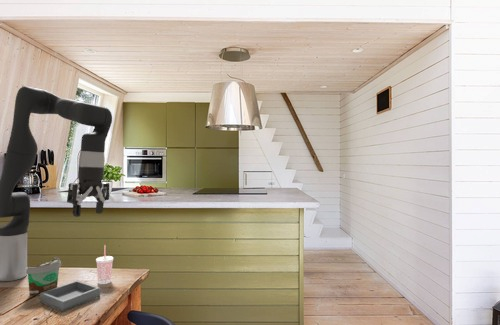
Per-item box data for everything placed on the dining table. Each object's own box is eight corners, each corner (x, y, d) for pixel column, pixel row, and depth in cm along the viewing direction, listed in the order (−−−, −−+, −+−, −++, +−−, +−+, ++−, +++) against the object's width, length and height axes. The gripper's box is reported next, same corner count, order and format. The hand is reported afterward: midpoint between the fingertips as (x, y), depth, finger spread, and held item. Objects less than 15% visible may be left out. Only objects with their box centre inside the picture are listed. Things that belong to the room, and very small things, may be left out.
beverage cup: (92, 284, 118) (93, 247, 118) (99, 278, 124) (100, 243, 124) (109, 284, 118) (110, 247, 118) (115, 278, 124) (116, 243, 124)
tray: (40, 302, 103) (40, 293, 103) (77, 288, 114) (77, 280, 114) (63, 311, 97) (63, 301, 97) (99, 296, 108) (99, 287, 108)
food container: (41, 299, 105) (41, 269, 105) (25, 297, 107) (26, 267, 107) (69, 284, 117) (69, 258, 117) (55, 283, 119) (55, 256, 119)
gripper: (100, 165, 112) (97, 211, 112) (63, 164, 99) (60, 216, 99) (116, 166, 109) (113, 213, 109) (81, 165, 96) (77, 219, 96)
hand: (88, 214), depth 104 cm, fingers open, 8 cm apart
